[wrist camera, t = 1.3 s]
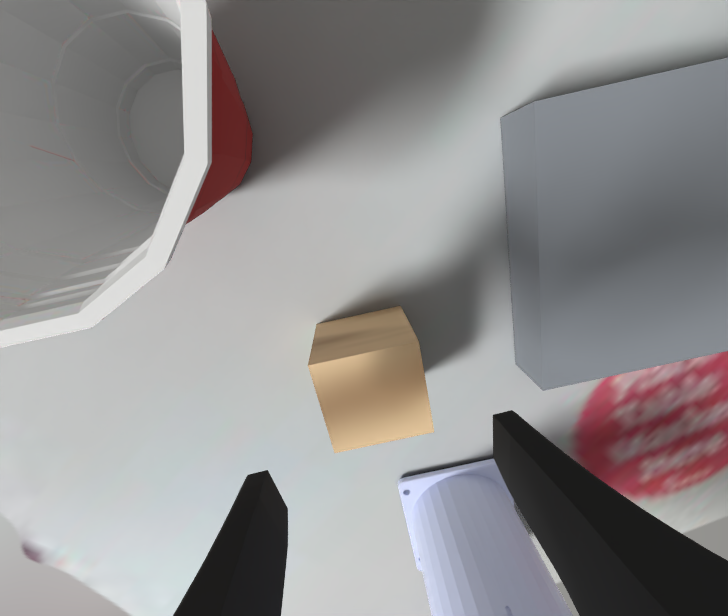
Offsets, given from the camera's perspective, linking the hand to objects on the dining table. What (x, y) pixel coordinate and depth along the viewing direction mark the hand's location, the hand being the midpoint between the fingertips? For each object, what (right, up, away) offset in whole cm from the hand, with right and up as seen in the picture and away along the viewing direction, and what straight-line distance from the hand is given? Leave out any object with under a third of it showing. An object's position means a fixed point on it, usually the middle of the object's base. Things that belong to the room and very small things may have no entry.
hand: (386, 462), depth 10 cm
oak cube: (0, +2, +10) cm, 10 cm away
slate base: (+14, +9, +8) cm, 19 cm away
